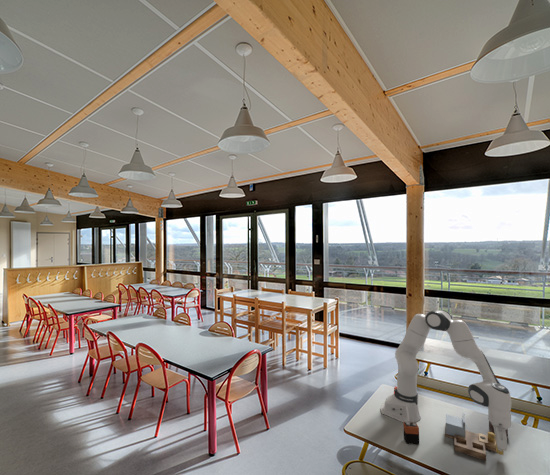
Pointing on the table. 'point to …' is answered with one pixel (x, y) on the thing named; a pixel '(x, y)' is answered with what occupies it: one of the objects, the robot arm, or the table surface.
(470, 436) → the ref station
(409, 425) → the battery
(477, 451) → the board
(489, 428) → the box
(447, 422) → the cover
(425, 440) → the table surface
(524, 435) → the table surface
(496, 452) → the pin
